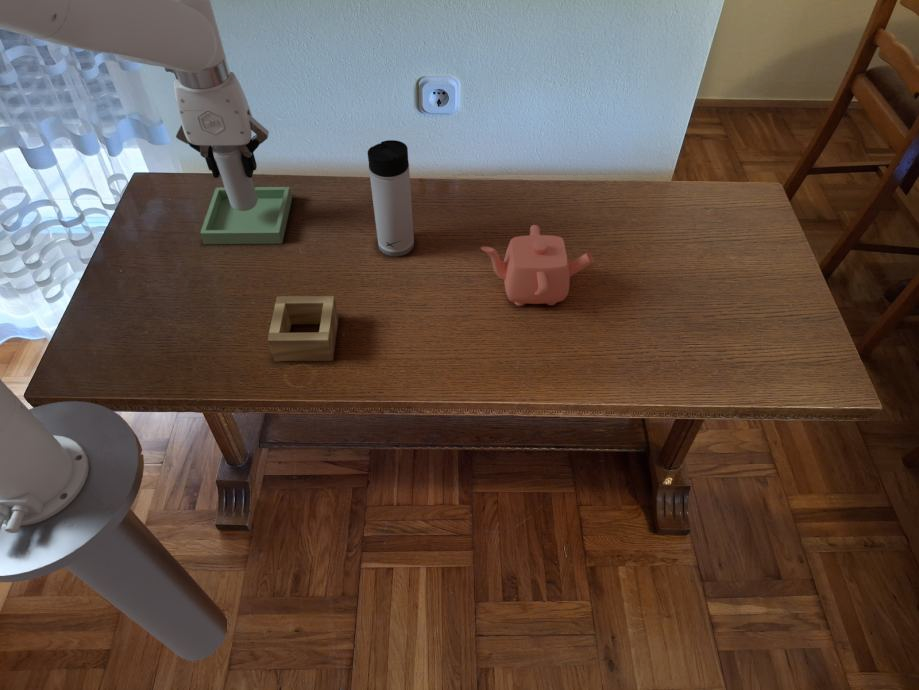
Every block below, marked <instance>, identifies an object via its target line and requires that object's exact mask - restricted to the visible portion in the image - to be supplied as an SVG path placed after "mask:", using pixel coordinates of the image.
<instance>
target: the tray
mask: <svg viewBox="0 0 919 690" xmlns="http://www.w3.org/2000/svg"><path fill="white" fill-rule="evenodd" d="M254 187H255V191H256V194H257V197H258V202H257V204H256V205H255V206H254V207H253V208H252V209H250V210H247V211H238V210H236V209H234V208H233V207H232V206H231V204H230V201H229V198H228V196H227V193H226V190H225V187H224V186H223V187H221V186H220V187H219V186H218V187H215V189H214V191H213V194H212V197H211V200H210V203H209V206H208V209H207V212H206V215H205V217H204V221H203V224H202V226H201V229H200V237H201V239H202V241H203V245H274V244H275V245H277V244H278V245H280V244H281V245H282V244H283V241H284V237H285V233H286V228H287V224H288V219H289V215H290V210H291V206H292V201H293V195H292V190H291V187H290V186H254Z"/></svg>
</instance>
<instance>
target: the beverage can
mask: <svg viewBox="0 0 919 690" xmlns="http://www.w3.org/2000/svg"><path fill="white" fill-rule="evenodd" d="M212 153H213V156H214V158H215V161H216V164H217V167H218V170H219V173H220V175H219V177H220V178H221V182H222V184H223V187H225V190H226V193H227V196H228V198H229V201H230V204H231V206H232V207H233V208H234V209H236V210H238V211H247V210H250V209H252V208H253V207H254V206H255V205H256V204H257V202H258V197H257V194H256V191H255V187H256V186H255V185H254V181H253V177H252V178H248V177H247V175H246V172H245V169H244V165H243V162H242V156H243V153H242V151H241V150H240V148H239V146H238V145H232V146H212Z"/></svg>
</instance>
